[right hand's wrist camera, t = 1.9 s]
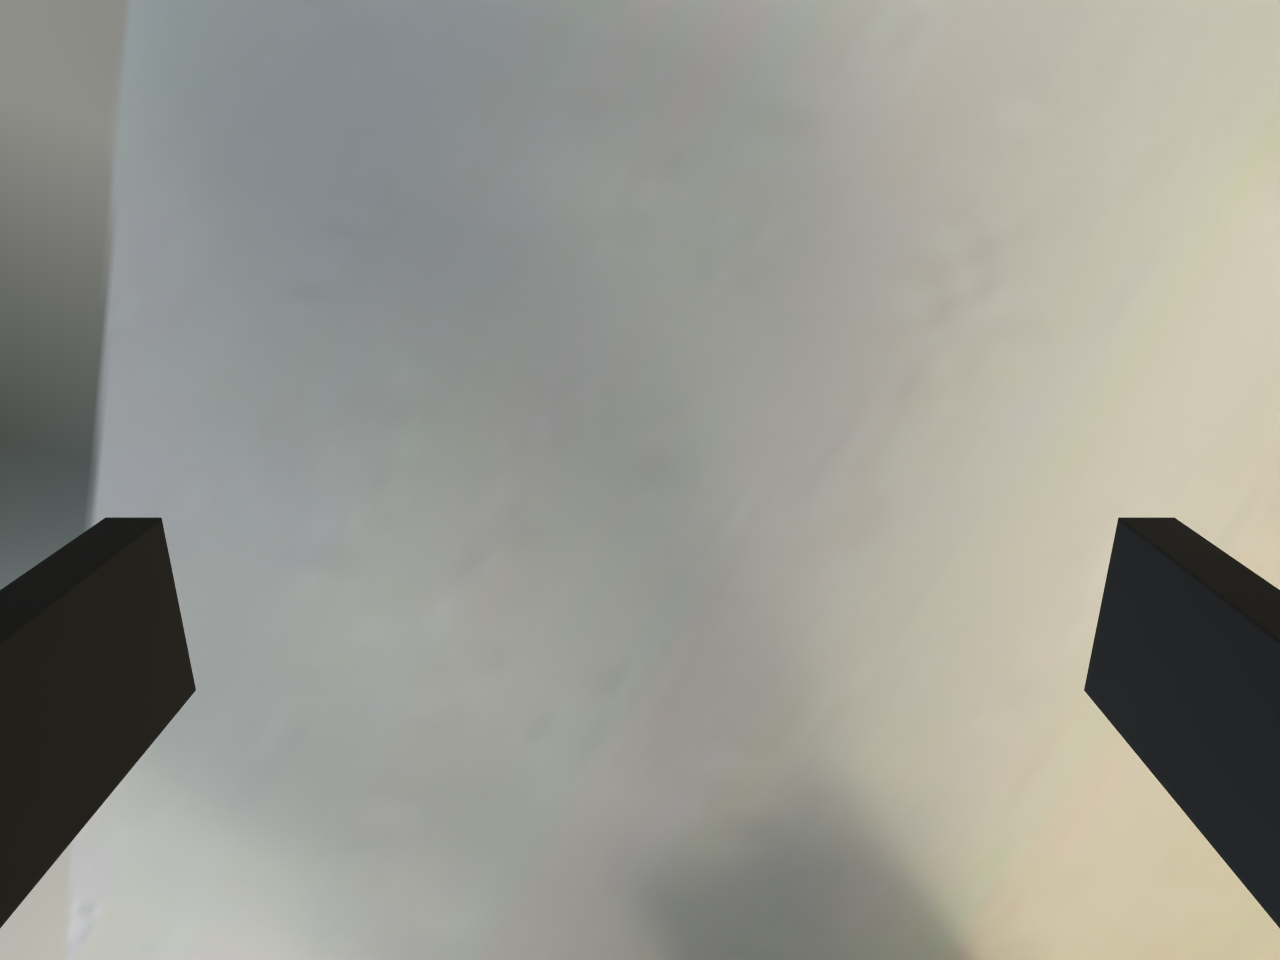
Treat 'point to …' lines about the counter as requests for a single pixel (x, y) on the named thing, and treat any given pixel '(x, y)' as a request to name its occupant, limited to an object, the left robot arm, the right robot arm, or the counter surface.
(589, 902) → the counter surface
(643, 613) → the counter surface
